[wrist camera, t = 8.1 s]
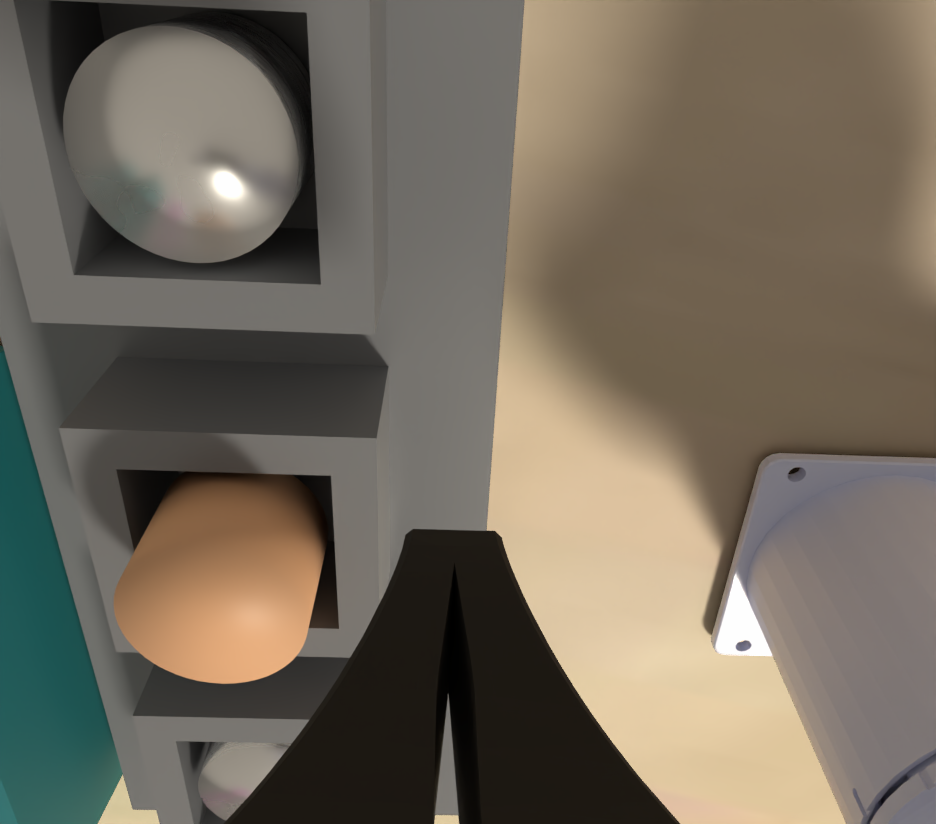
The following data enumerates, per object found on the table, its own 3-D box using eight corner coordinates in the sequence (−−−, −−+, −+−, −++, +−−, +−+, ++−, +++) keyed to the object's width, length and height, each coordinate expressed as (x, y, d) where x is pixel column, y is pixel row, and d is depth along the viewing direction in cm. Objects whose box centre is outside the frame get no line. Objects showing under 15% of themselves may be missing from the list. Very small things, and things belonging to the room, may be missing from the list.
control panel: (531, -212, 15) (562, -275, 11) (465, 766, 31) (466, 910, 26) (-100, -249, 15) (-341, -330, 11) (151, 760, 30) (96, 904, 26)
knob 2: (348, 663, 25) (335, 748, 22) (351, 747, 27) (340, 834, 24) (217, 661, 24) (189, 745, 22) (231, 744, 27) (206, 831, 24)
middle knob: (324, 460, 18) (302, 546, 16) (331, 590, 20) (313, 685, 18) (148, 455, 18) (96, 541, 16) (173, 586, 20) (131, 681, 18)
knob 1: (318, 17, 15) (290, 32, 13) (327, 219, 17) (304, 267, 15) (109, 6, 15) (38, 19, 13) (143, 211, 17) (88, 258, 15)
